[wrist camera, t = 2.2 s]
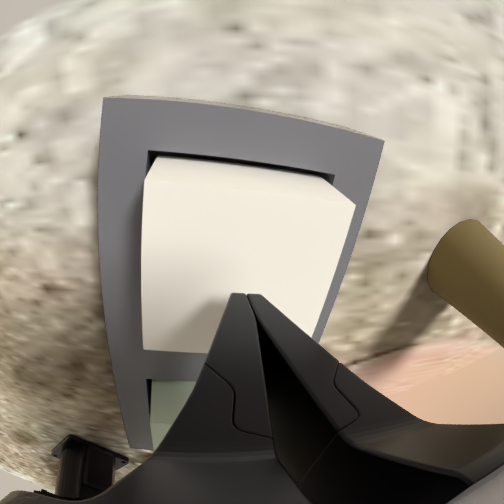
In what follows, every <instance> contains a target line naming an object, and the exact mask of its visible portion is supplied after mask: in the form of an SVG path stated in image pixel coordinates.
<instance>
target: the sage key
mask: <svg viewBox="0 0 504 504" xmlns="http://www.w3.org/2000/svg"><path fill="white" fill-rule="evenodd" d="M195 384H196V381H175V380H159V379H152V393H151V413H150V426H151V434H152V442H153V449H154V451H155V450H156V448H157V447H158V446H159V444H160V443H161V441H162V440H163V438H164V437H165V435H166V433H167V432H168V430H169V429H170V427H171V425H172V424H173V422H174V421H175V419H176V417H177V416H178V414H179V413H180V411H181V410H182V408H183V406H184V405H185V403H186V401H187V399H188V397H189V396H190V394H191V392H192V390H193V388H194V386H195Z"/></svg>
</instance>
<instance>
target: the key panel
mask: <svg viewBox="0 0 504 504" xmlns="http://www.w3.org/2000/svg"><path fill="white" fill-rule="evenodd" d="M383 145H384V140H381V139H378V138H375V137H373V136H370V135H367V134H364V133H361V132H358V131H356V130H353V129H350V128H347V127H343V126H339V125H335V124H331V123H327V122H322V121H318V120H314V119H309V118H305V117H300V116H295V115H290V114H285V113H280V112H275V111H269V110H263V109H258V108H252V107H245V106H239V105H232V104H225V103H217V102H209V101H200V100H191V99H181V98H169V97H155V96H137V95H121V96H112V97H104V98H103V107H102V117H101V129H100V143H99V163H98V240H99V260H100V275H101V287H102V298H103V307H104V316H105V324H106V332H107V339H108V346H109V352H110V358H111V364H112V370H113V376H114V381H115V386H116V391H117V396H118V401H119V405H120V410H121V414H122V419H123V423H124V427H125V431H126V435H127V439H128V443H129V446H130V448H135V449H147V450H154V449H153V442H152V434H151V426H150V413H151V393H152V379H159V380H175V381H197V379H198V377H199V374H200V372H201V369H202V366H203V364H204V362H205V359H206V356H207V354H208V353H189V352H172V351H157V350H144V349H143V333H142V303H141V243H142V214H143V195H144V180H145V178H146V176H147V174H148V172H149V170H150V169H151V167H152V165H153V163H154V161H155V160H156V158H157V156H158V155H162V156H174V157H185V158H195V159H205V160H214V161H223V162H231V163H239V164H247V165H254V166H261V167H268V168H275V169H282V170H288V171H295V172H301V173H307V174H313V175H318V176H320V177H322V178H323V179H324V180H325V181H327V182H328V183H329V184H331V185H332V186H333V187H334V188H336V189H337V190H338V191H339V192H341V193H342V194H343V195H344V196H345V197H347V198H348V199H349V200H350V201H352V202H353V203H354V204H355V205H356V207H355V210H354V213H353V217H352V220H351V223H350V227H349V230H348V233H347V236H346V240H345V243H344V246H343V249H342V252H341V255H340V258H339V261H338V264H337V267H336V270H335V273H334V276H333V279H332V282H331V285H330V288H329V291H328V294H327V297H326V300H325V302H324V305H323V308H322V311H321V313H320V316H319V319H318V322H317V324H316V327H315V330H314V332H313V335H312V339H313V340H314V341H316V342H317V343H319V341H320V338H321V336H322V333H323V331H324V328H325V325H326V323H327V320H328V318H329V315H330V313H331V310H332V307H333V305H334V302H335V299H336V297H337V294H338V291H339V288H340V286H341V283H342V280H343V277H344V274H345V271H346V269H347V266H348V263H349V260H350V257H351V254H352V251H353V248H354V245H355V242H356V239H357V236H358V233H359V229H360V226H361V223H362V220H363V217H364V213H365V210H366V207H367V203H368V200H369V197H370V193H371V190H372V186H373V183H374V179H375V175H376V172H377V168H378V164H379V161H380V157H381V153H382V149H383Z"/></svg>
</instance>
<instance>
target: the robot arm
mask: <svg viewBox="0 0 504 504" xmlns="http://www.w3.org/2000/svg"><path fill="white" fill-rule="evenodd" d="M52 456H54V457H56V458H58V459H60V462H59V468H58V474H57V481H56V489H55V494H52V493H49V492H47V491H46V490H43V489H42V490H41V491H35V490H34V493H33V492H27V491H13V492H11V493H9V494H8V495H7V496H6V497H5V498H3V499H2V500H1V501H0V504H504V424H484V425H453V424H452V425H451V424H449V425H448V424H435V423H430V422H427V421H423V420H421V419H419V418H417V417H416V416H414V415H412V414H411V413H409V412H408V411H406V410H405V409H403V408H402V407H400V406H398V405H397V404H396V403H394V402H393V401H391V400H390V399H388V398H387V397H385V396H384V395H382V394H381V393H379V392H378V391H377V390H375V389H374V388H372V387H371V386H370V385H368V384H367V383H365V382H364V381H363V380H361V379H360V378H359V377H358V376H356V375H355V374H354V373H353V372H351V371H350V370H349V369H348V368H347V367H345V366H344V365H343V364H342V363H339V361H338V360H337V359H336V358H335V357H333V356H332V355H331V354H330V353H329V352H327V351H326V350H325V349H324V348H323V347H322V346H320V345H319V344H318V343H317V342H316V341H314V340H313V339H312V338H311V337H310V336H309V335H307V334H306V333H305V332H304V331H303V330H302V329H300V328H299V327H298V326H297V325H296V324H295V323H294V322H292V321H291V320H290V319H289V318H288V317H287V316H285V315H284V314H283V313H282V312H281V311H280V310H279V309H277V308H276V307H275V306H274V305H273V304H272V303H270V302H269V301H268V300H267V299H266V298H265V297H264V296H262V295H261V294H250V293H248V294H247V295H246V294H245V293H231V294H230V297H229V299H228V302H227V305H226V307H225V310H224V312H223V315H222V318H221V320H220V323H219V325H218V328H217V330H216V333H215V336H214V338H213V341H212V343H211V346H210V349H209V351H208V354H207V356H206V359H205V362H204V364H203V366H202V369H201V372H200V374H199V377H198V379H197V381H196V384H195V386H194V388H193V390H192V392H191V394H190V396H189V397H188V399H187V401H186V403H185V405H184V406H183V408H182V410H181V411H180V413H179V414H178V416H177V417H176V419H175V421H174V422H173V424H172V425H171V427H170V429H169V430H168V432H167V433H166V435H165V437H164V438H163V440H162V441H161V443H160V444H159V446H158V447H157V448H156V450H155V451H154V452H153V453H152V455H151V456H150V457H149V458H148V459H147V460H146V461H145V462H144V463H142V464H141V465H140V466H138V467H137V468H136V469H134V470H133V471H132V472H130V473H129V474H128V475H126V476H125V477H123V478H122V479H121V480H119V481H118V482H116V483H115V484H114V478H115V470H117V469H119V468H121V467H123V466H125V465H127V464H128V463H129V459H128V458H126V457H123V456H121V455H118V454H115V453H113V452H110V451H108V450H105V449H103V448H100V447H98V446H95V445H93V444H91V443H88V442H86V441H84V440H81V439H79V438H77V437H75V436H71V435H69V436H68V437H66V438H65V439H64V440H63V441H62V442H61V443H60V444H59V445H58V446H57V447H56V448H54V449H53V450H52Z"/></svg>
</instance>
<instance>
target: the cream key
mask: <svg viewBox="0 0 504 504" xmlns="http://www.w3.org/2000/svg"><path fill="white" fill-rule="evenodd" d="M355 207H356V205H355V204H354V203H353V202H352V201H350V200H349V199H348V198H347V197H345V196H344V195H343V194H342V193H341V192H339V191H338V190H337V189H336V188H334V187H333V186H332V185H331V184H329V183H328V182H327V181H325V180H324V179H323V178H322V177H320V176H318V175H313V174H307V173H301V172H295V171H288V170H282V169H275V168H268V167H261V166H254V165H247V164H239V163H231V162H223V161H214V160H205V159H195V158H185V157H174V156H162V155H158V156H157V158H156V160H155V161H154V163H153V165H152V167H151V169H150V170H149V172H148V174H147V176H146V178H145V180H144V195H143V214H142V243H141V303H142V333H143V349H144V350H157V351H172V352H189V353H208V351H209V349H210V346H211V343H212V341H213V338H214V336H215V333H216V330H217V328H218V325H219V323H220V320H221V318H222V315H223V312H224V310H225V307H226V305H227V302H228V299H229V297H230V294H231V293H245V294H246V295H247V294H248V293H250V294H261V295H262V296H264V297H265V298H266V299H267V300H268V301H269V302H270V303H272V304H273V305H274V306H275V307H276V308H277V309H279V310H280V311H281V312H282V313H283V314H284V315H285V316H287V317H288V318H289V319H290V320H291V321H292V322H294V323H295V324H296V325H297V326H298V327H299V328H300V329H302V330H303V331H304V332H305V333H306V334H307V335H309V336H310V337H311V338H312V335H313V332H314V330H315V327H316V324H317V322H318V319H319V316H320V313H321V311H322V308H323V305H324V302H325V300H326V297H327V294H328V291H329V288H330V285H331V282H332V279H333V276H334V273H335V270H336V267H337V264H338V261H339V258H340V255H341V252H342V249H343V246H344V243H345V240H346V236H347V233H348V230H349V227H350V223H351V220H352V217H353V213H354V210H355Z"/></svg>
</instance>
